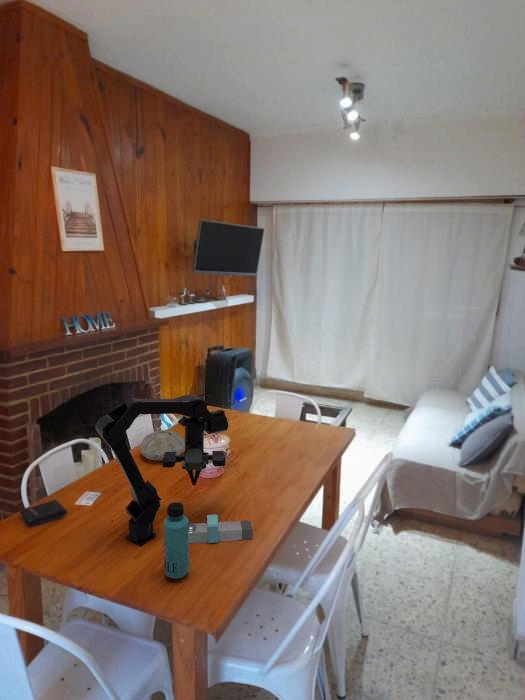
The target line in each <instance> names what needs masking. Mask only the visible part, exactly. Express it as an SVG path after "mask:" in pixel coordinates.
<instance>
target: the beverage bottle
mask: <svg viewBox="0 0 525 700" xmlns="http://www.w3.org/2000/svg"><path fill="white" fill-rule="evenodd" d="M184 513H185V509H184V504H183V503H181V502H178V501H175V502H171V503H169V504H168V505H167V511H166V515H167V517H165V518H164V519H163V521H162V522H163V523H162V524H163V535H162V536H163V537H162V538H163V544H162V545H163V569H164V573H165V576H167V577H168V578H170V579H180V578H183V577H185V576H186V575H187V574H188V572H189V571H190V550H189V549H190V548H189V544H188V524H189V518H188V517H187V516H185V515H184Z"/></svg>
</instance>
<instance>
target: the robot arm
mask: <svg viewBox="0 0 525 700" xmlns="http://www.w3.org/2000/svg"><path fill="white" fill-rule="evenodd" d="M225 413H226V411H225V410H223V409H217V410H213V411H210V410H209V409H208V404H207V402H206V401H205V400H204V399H203V398H201V397H199V396H197V395H195V394H186V395H185V394H183V395H181V396H178V397H174V398H135V397H130V398H128V399H127V400H125V401H124V402H123V403H122V404H120V405H117V407H115V408H113V409H112V410H110V411H109V412H108V413H107V414H105V415H102V416H100V418H98V420H97V421H96V423H95V426H94V427H95V430H96V432H97V433H98V434H99V436H100V437H101V438H102V439H103V441H104V442H105V443H106V444H107V446H109V448H110V449H111V451H112V453H113V455H114V457H115V459H116V460H117V463H118V464H119V466H120V469H121V470H122V472H123V474H124V477H125V478H126V480H127V482H128V485H129V487H130V494H131V499H132V500H130V502H129V503H128V504H127V506H126V507H125V511H126V513H127V514H128V515H129V517H130V518H129V519H130V520H128V535H126V536H125V538H124V539H125V540H126V541H128V542H131V543H133V544H135V545H137V546H139V547H141V546H144V545H145V544H146V543H148V542H149V541H150V540H152V539H153V538H155V537H157V535H158V534H157V533H156V532H154V521H155V519H156V515H157V513H158V511H159V509H160V508H161V502H160V501H161V500H162V498H161V497H160V496H159V495H158V494H159V493H158V490H157V489H156V487H155V486H154V485H153V484H152V483H151V482H150V481H149V480H147V481H146V482H145V480H144V478H143V475H142V474H141V471H140V469H139V468H138V465H137V463H136V462H135V460H134V457H133V455H132V453H131V451H130V449H129V447H128V443H127V440H128V439H127V435H126V432H127V431H128V430H129V429H130V428H131V426H132V425H133V423H134V421H136V419H137V418H138V417H139V416H141V415H174V414H175V415H181V416H182V417H181V418H180V419H179V420H178V421H177V423H178V425H181V426H182V427H184V441H185V442H184V443H185V448H184V451H183V455H182V454H181V455H178V456H177V452H165V453H164V454H163V459H162V461H161V463H162V465H161V467H162V468H164V469H165V468H174V467H175V466H176V463H181V469H182V470H185V471H186V472H187V474H188V476H189V478H190V481H191V483H192V486H196V485H197V482H198V481H199V480H198V479H199V477H200V474H201V472H202V470H206V469H207V465H209V462H212V464H211V465H213V466H214V467H225V466H226V452H225V451H224V450H212V452H211V453H212V454H210V453H209V452H208V451H207V452H205V451H204V450H205V443H204V442H205V441H204V440H205V435H204V434H205V433H206V434H208V435H213V434H217V433H221V432H226V431H228V429H229V421H228V418H227V416H226V414H225ZM194 471H195V472H194Z"/></svg>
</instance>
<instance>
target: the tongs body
mask: <svg viewBox="0 0 525 700" xmlns="http://www.w3.org/2000/svg"><path fill="white" fill-rule="evenodd" d="M195 524H196V523H195V522H194V523H193V522H191V523H189V522H188V545H189V544H204V543H208V530H207V527H204V528H196V525H195ZM249 539H250V540H252V539H253V528H252V524H251V525H236V526H220V527H218V543H219V542H229V541H230V542H231V541H246V540H249Z"/></svg>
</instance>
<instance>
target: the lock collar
mask: <svg viewBox="0 0 525 700" xmlns="http://www.w3.org/2000/svg"><path fill="white" fill-rule="evenodd" d="M218 520H219V518H218V514H207V515H206V523H207V530H208V542H207V544H212V543H213V544H216V543H219V542H218V522H219V521H218Z"/></svg>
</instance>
